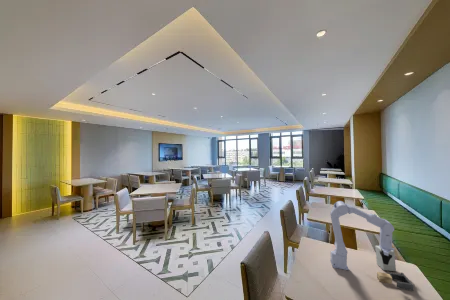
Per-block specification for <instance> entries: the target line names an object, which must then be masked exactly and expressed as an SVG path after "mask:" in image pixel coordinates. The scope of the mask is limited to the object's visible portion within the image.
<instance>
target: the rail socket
mask: <svg viewBox="0 0 450 300" xmlns="http://www.w3.org/2000/svg"><path fill="white" fill-rule="evenodd" d="M389 274H390V276H391V277H392V280H395V281H396V288H398V289H400V290H406V291H411V292H414V289H415V288H414V287H415V286H414V284H413V283H412V282H411V280H410V279H409V278H408V277H407V276H406V275H405V274H404V273H403V272H400V273H396V272H389Z"/></svg>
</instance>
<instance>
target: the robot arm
mask: <svg viewBox="0 0 450 300" xmlns="http://www.w3.org/2000/svg"><path fill="white" fill-rule="evenodd" d="M347 214H349V215H350V214H355V215H357V216H359V217H361V218H363V219H365V220H366V222H367V223H369V224H371V225H374V226H376V227H378V228H379V245H378V246H379V247H380V248H381V251H382V252H381V251H380V254H381V256H382V260H383V264H386V265H388V264H389V261H390V259H391V258H392V255H390V254H389V252H391V251H392V250H393V251H394V252H395V247H393V232H394V231H395V227H394V225H393V224H392V223H391V222H390V221H389V220H387V219H385V218H382V217H379V216H378V215H377V214H375V213H374V214H373V213H367V212H365V211H363V210H360V209H359V208H357V207H355V206H353V205H352V204H349V203H348V202H344V201H342V200H338V201H336V202H335V203H333V207H332V208H331V211H330V215H329V216H330V220H331V225H332V229H333V234H334V235H333V236H334V242H333V243H334V244H333V245H334V250H331V251H330V263H331V266H332V268H334V269H340V270H344V271H349V270H350V269H349V266H348V250H347V248H346V244H345V242H344V238H343V233H342V228H341V223H340V218H341V217H342V216H345V215H347Z"/></svg>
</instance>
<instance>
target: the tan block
mask: <svg viewBox="0 0 450 300" xmlns="http://www.w3.org/2000/svg"><path fill="white" fill-rule="evenodd" d="M376 272H377V273H376V279H377V280H378V281H379V282H381V283H385V284H390V285H393V279H392V277H391V276H390V273H385V272H381V271H376Z"/></svg>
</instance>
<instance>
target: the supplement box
mask: <svg viewBox="0 0 450 300" xmlns="http://www.w3.org/2000/svg"><path fill="white" fill-rule="evenodd" d="M374 247H375V259H376V265H377V266H379V267H380V269H382V270H383V271H389V272H390V271H391V272H396V271H397V265H396V258H395V257H396V255H395V254H396V253H395V250H394V251H393V250H392V251H391V252H389V254H390V255H392V258H391V259H390V261H389V264H388V265H386V264H383V260H382V256H381V254H380V251H381V248H380V247H379V245H375V246H374ZM381 252H382V251H381Z"/></svg>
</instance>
